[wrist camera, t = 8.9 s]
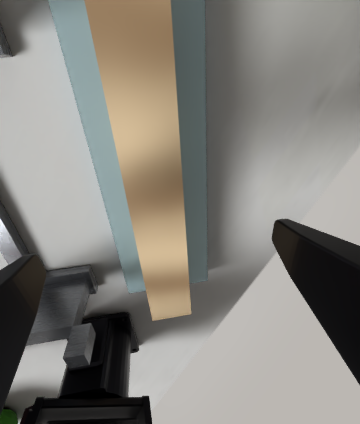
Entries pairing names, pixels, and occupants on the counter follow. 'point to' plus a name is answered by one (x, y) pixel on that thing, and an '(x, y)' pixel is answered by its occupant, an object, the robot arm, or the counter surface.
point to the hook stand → (55, 291)
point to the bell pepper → (8, 417)
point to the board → (103, 137)
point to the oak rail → (146, 139)
